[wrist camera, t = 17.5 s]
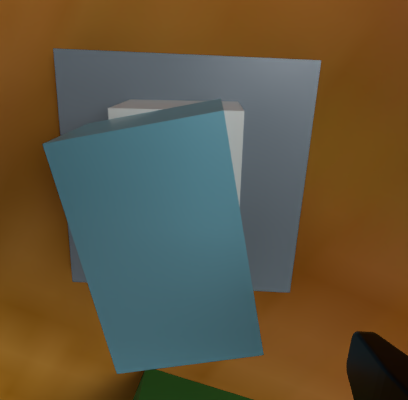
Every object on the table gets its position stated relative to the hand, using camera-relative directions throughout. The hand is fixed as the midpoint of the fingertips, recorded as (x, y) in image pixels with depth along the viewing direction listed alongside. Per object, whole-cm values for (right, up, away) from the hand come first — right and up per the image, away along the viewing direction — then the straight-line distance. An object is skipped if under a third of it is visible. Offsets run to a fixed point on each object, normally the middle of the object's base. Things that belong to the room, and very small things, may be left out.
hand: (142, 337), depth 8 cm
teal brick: (0, +2, +7) cm, 8 cm away
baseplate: (0, +4, +12) cm, 13 cm away
